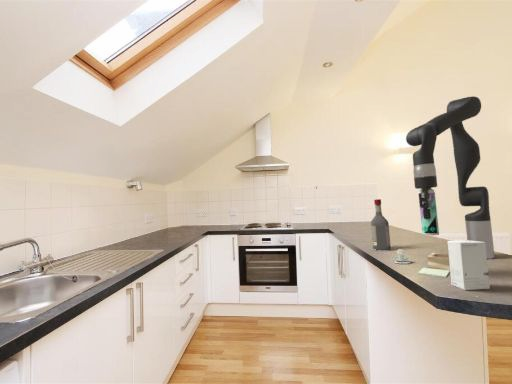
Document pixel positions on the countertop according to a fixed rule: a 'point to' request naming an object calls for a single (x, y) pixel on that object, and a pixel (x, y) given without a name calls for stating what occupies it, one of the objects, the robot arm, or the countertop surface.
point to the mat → (434, 272)
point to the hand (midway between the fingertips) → (429, 218)
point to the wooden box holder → (438, 261)
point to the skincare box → (468, 264)
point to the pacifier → (401, 258)
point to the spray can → (431, 224)
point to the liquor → (380, 229)
